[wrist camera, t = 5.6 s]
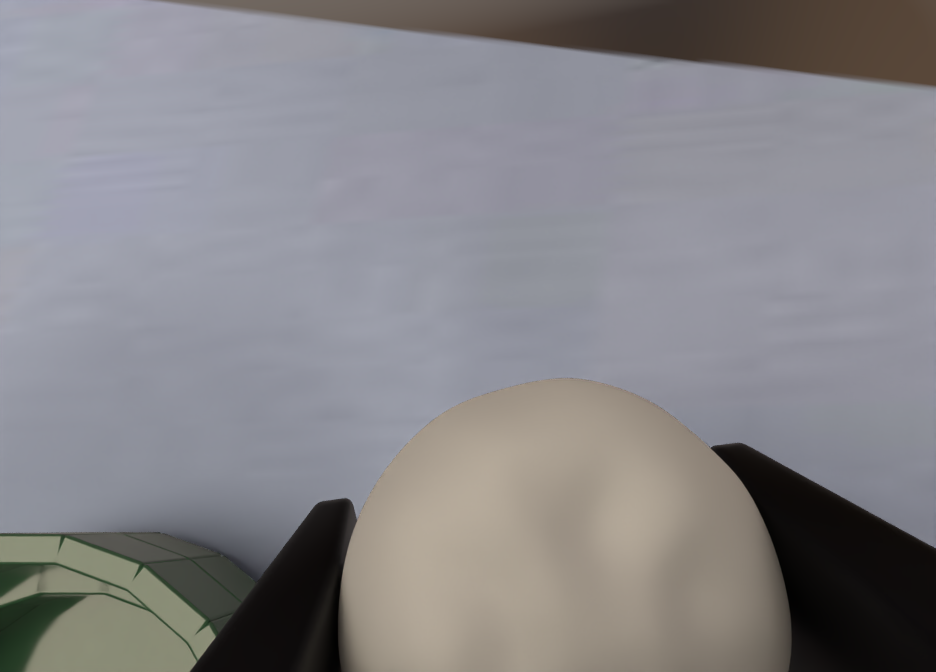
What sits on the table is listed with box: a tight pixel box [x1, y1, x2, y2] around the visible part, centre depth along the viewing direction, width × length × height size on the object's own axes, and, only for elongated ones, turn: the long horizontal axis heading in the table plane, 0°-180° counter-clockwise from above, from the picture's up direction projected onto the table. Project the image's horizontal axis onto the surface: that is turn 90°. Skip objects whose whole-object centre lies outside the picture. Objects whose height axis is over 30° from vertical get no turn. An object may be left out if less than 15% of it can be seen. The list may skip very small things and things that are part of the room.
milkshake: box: [338, 378, 792, 672], centre depth 10 cm, size 4×5×10 cm
